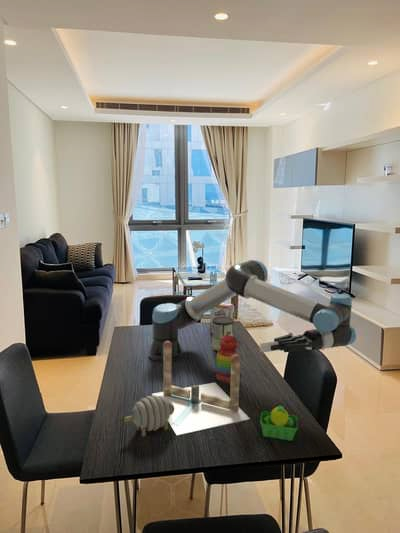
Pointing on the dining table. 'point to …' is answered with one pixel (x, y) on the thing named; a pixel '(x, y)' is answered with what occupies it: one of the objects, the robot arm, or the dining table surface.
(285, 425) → the fruit basket
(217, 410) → the card
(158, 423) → the toy sheep
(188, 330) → the dining table surface
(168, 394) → the wooden post with ball
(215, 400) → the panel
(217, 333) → the coffee can
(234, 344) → the stacking bear
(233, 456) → the dining table surface
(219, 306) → the candy bar box
